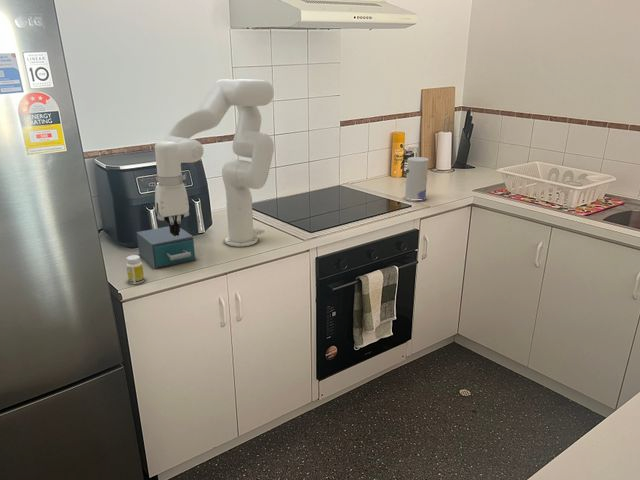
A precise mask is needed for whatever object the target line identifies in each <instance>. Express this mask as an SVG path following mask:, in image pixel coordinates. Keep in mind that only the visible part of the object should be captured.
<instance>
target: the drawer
mask: <svg viewBox="0 0 640 480" xmlns="http://www.w3.org/2000/svg"><path fill="white" fill-rule="evenodd" d="M193 240H194V239H193ZM193 240H192V239H191V240H185V241H180V242H175V243H170V244H165V245H160V246H155V247H154V251H155V259H156V266H157V267H159V266H164V265H168V264H173V263H177V262H182V261H186V260H191V259H195V260H196V254H195V255H194V251H195V243H194V244H193Z"/></svg>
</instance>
